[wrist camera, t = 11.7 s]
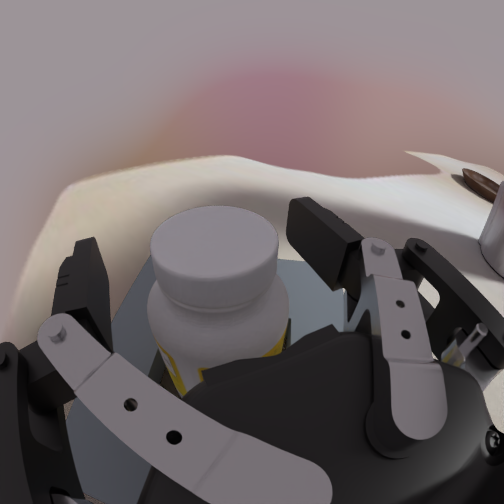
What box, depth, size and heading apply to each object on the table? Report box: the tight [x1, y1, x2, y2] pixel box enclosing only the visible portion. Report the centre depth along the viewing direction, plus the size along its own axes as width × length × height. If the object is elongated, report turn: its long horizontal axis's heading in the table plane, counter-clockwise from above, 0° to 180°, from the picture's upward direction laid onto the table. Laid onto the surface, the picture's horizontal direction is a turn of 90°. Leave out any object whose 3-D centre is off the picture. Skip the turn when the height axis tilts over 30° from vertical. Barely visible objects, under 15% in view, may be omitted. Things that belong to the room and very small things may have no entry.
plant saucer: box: [462, 168, 500, 203], centre depth 47 cm, size 18×18×3 cm
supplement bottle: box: [147, 206, 289, 399], centre depth 11 cm, size 5×5×10 cm
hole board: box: [66, 255, 344, 504], centre depth 14 cm, size 18×14×2 cm
